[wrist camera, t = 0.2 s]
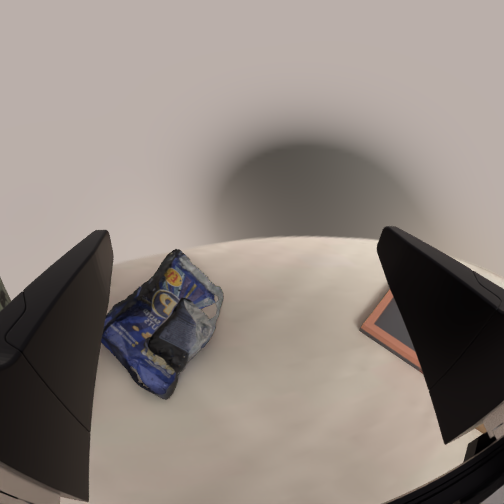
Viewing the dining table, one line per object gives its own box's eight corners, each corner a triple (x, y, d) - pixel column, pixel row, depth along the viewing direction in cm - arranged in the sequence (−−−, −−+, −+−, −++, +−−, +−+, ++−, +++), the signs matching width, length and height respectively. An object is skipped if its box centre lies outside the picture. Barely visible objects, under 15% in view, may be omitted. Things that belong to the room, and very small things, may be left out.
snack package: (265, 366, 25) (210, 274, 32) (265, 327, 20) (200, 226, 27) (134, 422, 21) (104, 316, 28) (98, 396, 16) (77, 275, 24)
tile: (424, 374, 24) (430, 369, 23) (359, 330, 28) (363, 323, 27) (446, 325, 28) (451, 319, 28) (391, 289, 32) (394, 282, 32)
